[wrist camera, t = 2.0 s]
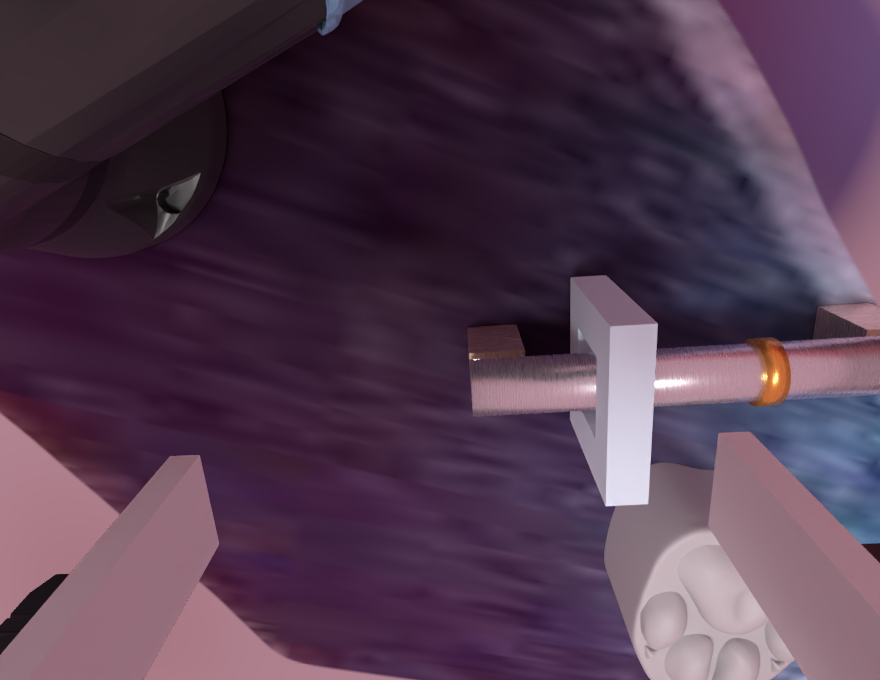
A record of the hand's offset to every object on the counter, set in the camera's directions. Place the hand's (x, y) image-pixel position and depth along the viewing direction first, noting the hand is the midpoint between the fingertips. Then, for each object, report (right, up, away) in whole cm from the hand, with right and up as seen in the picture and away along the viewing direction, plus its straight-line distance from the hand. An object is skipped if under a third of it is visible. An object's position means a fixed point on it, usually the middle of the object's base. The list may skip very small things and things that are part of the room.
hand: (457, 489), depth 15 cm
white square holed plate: (+8, +3, +20) cm, 22 cm away
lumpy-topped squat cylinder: (+16, -11, +27) cm, 33 cm away
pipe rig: (+13, +4, +21) cm, 25 cm away
